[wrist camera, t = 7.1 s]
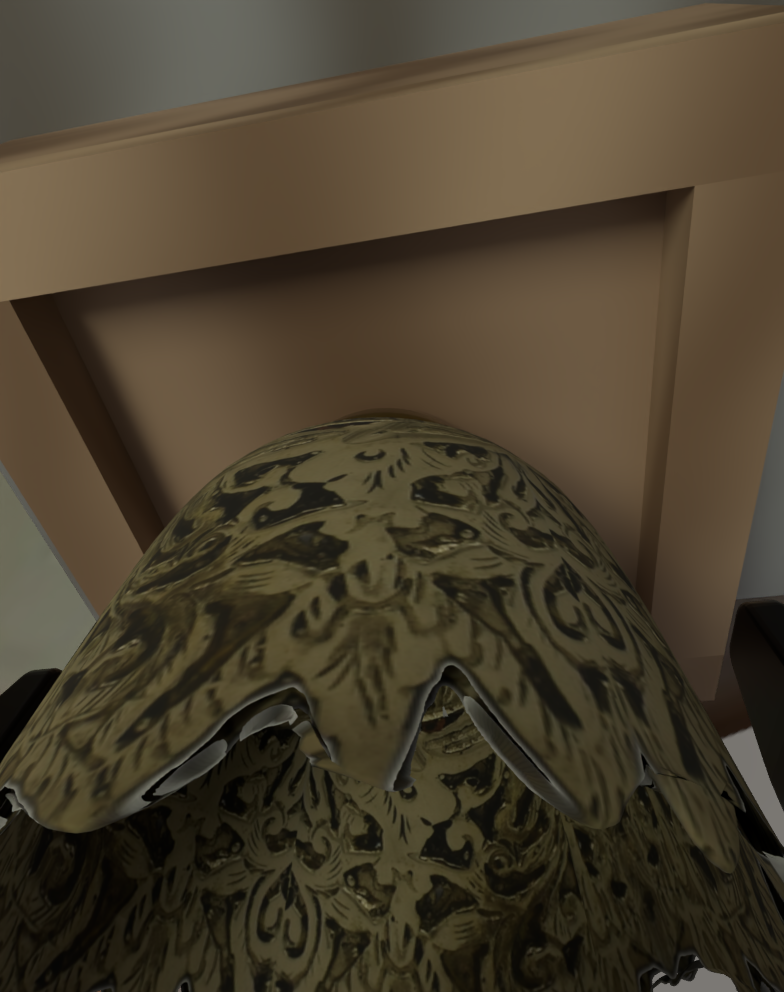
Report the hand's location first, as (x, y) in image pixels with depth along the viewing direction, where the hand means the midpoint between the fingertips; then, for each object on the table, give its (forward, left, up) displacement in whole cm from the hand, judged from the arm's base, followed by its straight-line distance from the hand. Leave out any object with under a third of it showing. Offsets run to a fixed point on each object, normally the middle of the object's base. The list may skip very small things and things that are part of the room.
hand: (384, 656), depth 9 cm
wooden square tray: (0, 0, -9) cm, 9 cm away
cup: (0, 0, -4) cm, 4 cm away
